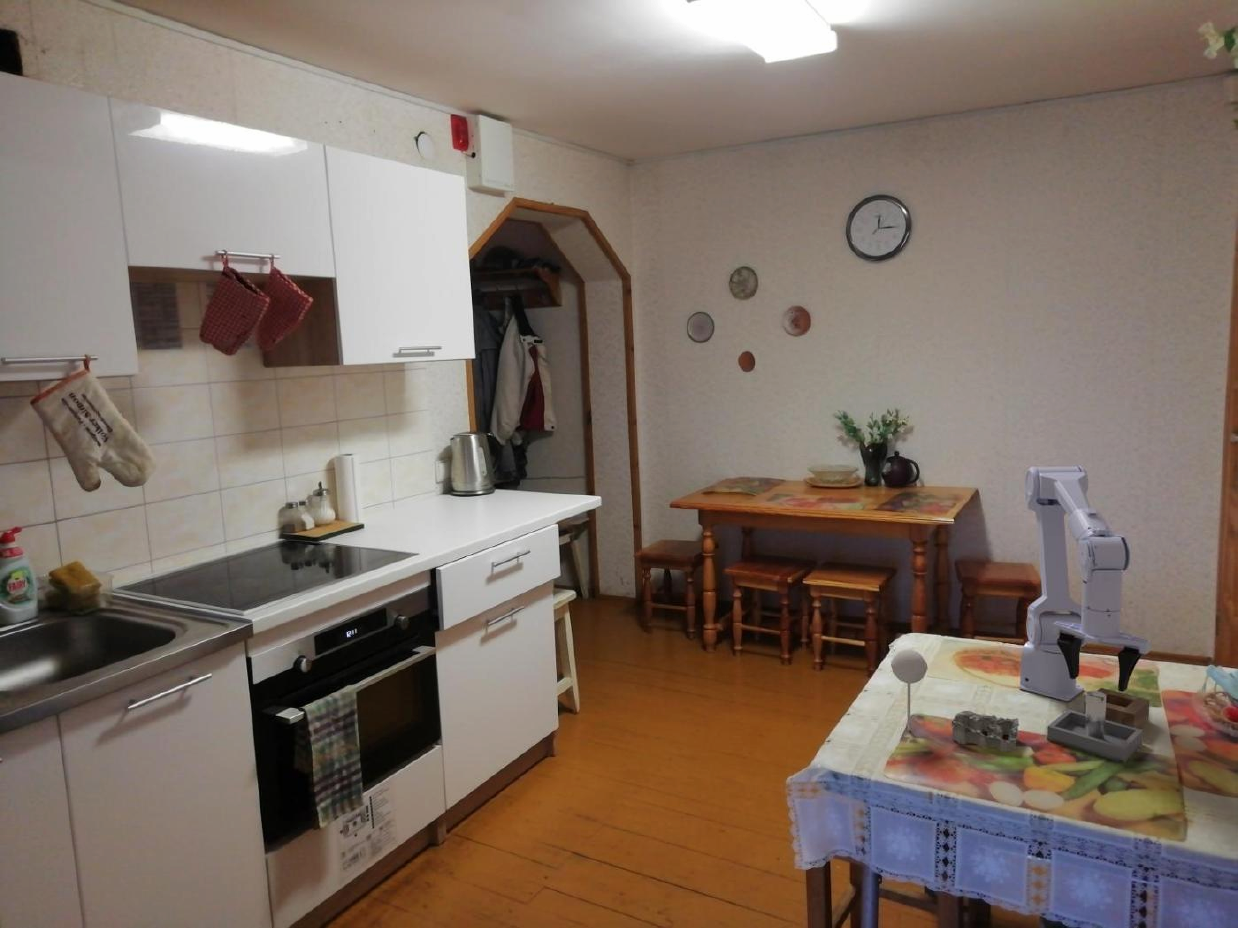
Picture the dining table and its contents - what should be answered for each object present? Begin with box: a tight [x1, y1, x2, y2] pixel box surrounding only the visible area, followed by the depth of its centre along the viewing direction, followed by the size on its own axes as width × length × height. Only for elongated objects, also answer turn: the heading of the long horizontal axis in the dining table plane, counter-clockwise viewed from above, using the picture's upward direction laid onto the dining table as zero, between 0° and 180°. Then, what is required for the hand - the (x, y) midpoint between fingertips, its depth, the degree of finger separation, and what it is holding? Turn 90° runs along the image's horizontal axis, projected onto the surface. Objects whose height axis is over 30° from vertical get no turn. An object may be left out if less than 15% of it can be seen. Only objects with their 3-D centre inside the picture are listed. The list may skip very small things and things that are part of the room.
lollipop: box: [890, 649, 929, 732], centre depth 153 cm, size 6×6×15 cm
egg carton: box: [951, 710, 1020, 753], centre depth 149 cm, size 11×8×4 cm
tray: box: [1046, 709, 1144, 764], centre depth 146 cm, size 12×9×2 cm
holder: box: [1083, 687, 1151, 730], centre depth 153 cm, size 8×8×4 cm
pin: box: [1085, 690, 1106, 741], centre depth 146 cm, size 3×3×8 cm
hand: (1098, 683), depth 145 cm, fingers open, 7 cm apart
